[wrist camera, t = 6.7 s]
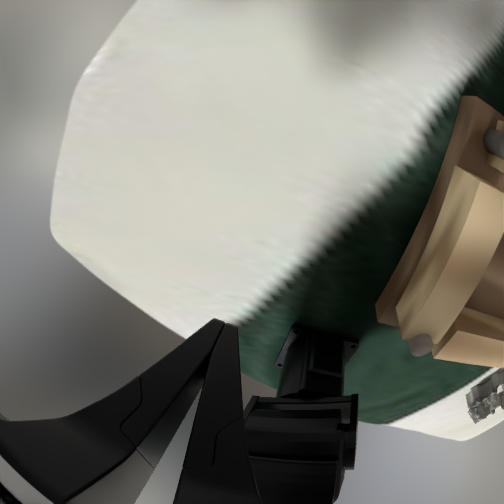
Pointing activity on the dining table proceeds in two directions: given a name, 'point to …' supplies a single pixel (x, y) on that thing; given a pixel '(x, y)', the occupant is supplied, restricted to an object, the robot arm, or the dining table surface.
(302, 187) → the dining table surface
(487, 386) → the grey jagged rock
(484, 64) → the dining table surface
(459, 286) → the hinged leg
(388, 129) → the dining table surface
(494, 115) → the wooden slat frame
